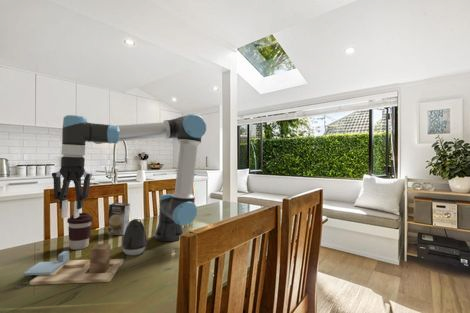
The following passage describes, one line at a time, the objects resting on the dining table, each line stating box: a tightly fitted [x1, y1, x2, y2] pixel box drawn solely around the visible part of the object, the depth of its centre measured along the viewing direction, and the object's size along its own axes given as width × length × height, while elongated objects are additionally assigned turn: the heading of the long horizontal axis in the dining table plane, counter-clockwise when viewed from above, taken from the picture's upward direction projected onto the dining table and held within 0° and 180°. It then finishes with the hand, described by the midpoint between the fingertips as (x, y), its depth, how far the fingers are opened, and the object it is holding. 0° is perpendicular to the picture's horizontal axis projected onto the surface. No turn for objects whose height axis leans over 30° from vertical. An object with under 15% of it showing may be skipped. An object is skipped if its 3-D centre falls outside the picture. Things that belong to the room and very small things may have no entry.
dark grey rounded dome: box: [121, 218, 148, 256], centre depth 107 cm, size 10×10×15 cm
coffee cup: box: [67, 212, 94, 251], centre depth 112 cm, size 10×10×15 cm
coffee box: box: [106, 202, 131, 236], centre depth 133 cm, size 9×6×16 cm
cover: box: [22, 250, 70, 276], centre depth 88 cm, size 8×12×3 cm, turn 10°
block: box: [89, 243, 111, 273], centre depth 89 cm, size 5×5×9 cm
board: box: [29, 258, 125, 286], centre depth 88 cm, size 24×16×2 cm, turn 100°
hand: (70, 217), depth 93 cm, fingers open, 3 cm apart
